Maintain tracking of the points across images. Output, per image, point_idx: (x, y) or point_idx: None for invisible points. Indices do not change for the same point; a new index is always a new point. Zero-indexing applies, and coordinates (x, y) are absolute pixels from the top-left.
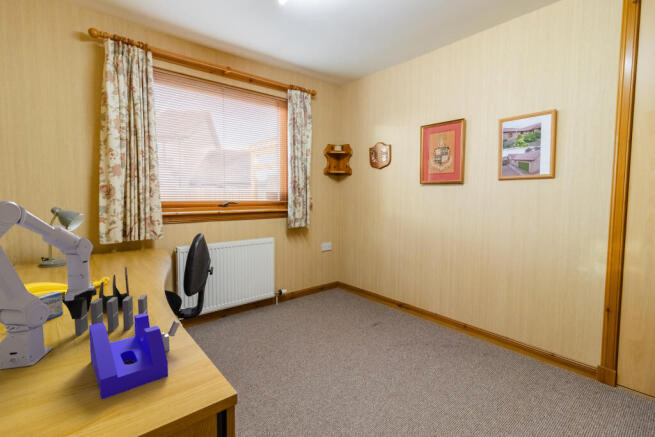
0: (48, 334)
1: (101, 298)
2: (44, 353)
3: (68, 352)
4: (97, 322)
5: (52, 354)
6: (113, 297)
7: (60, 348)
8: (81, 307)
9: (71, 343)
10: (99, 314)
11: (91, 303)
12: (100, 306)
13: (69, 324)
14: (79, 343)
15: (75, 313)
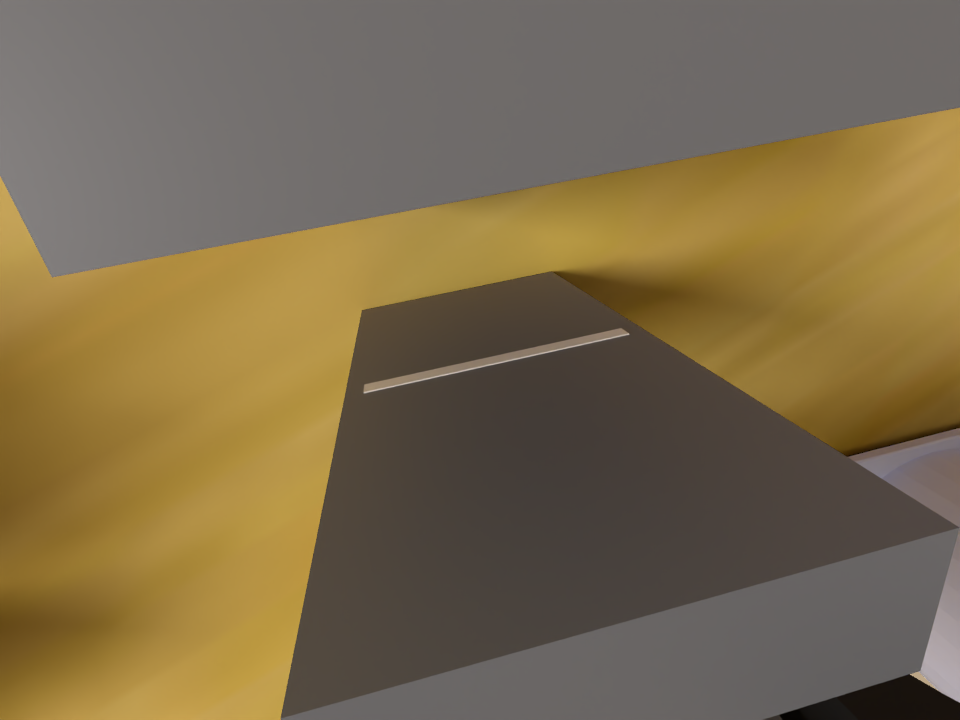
0: None
1: (322, 715)
2: (934, 445)
3: (939, 287)
4: (590, 307)
5: (918, 394)
6: (46, 148)
7: (826, 407)
8: (909, 705)
9: (752, 382)
10: (526, 363)
11: (917, 648)
12: (470, 464)
13: (287, 682)
14: (778, 307)
15: None
